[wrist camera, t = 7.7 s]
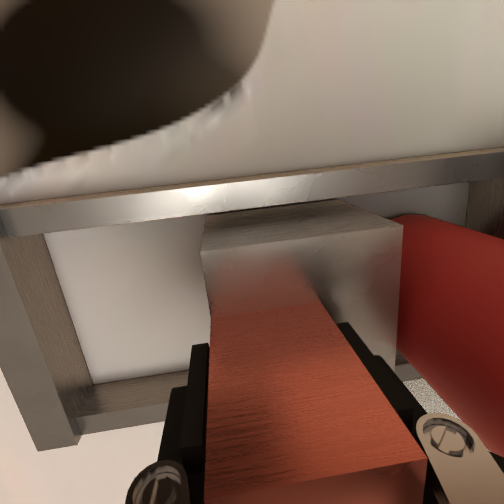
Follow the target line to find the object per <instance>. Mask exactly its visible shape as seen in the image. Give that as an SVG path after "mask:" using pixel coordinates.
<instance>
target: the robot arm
mask: <svg viewBox="0 0 504 504" xmlns="http://www.w3.org/2000/svg"><path fill="white" fill-rule="evenodd" d="M336 325H337V327H338V328H339V330H340V331H341V333H342V334H343V335H344V337H345V338H346V340H347V341H348V343H349V344H350V346H351V347H352V349H353V350H354V351H355V353H356V354H357V356H358V357H359V359H360V360H361V362H362V363H363V365H364V366H365V368H366V369H367V370H368V372H369V373H370V375H371V376H372V378H373V379H374V381H375V382H376V384H377V385H378V387H379V388H380V389H381V391H382V392H383V394H384V395H385V397H386V398H387V400H388V401H389V403H390V404H391V406H392V407H393V408H394V410H395V411H396V413H397V414H398V416H399V417H400V419H401V420H402V422H403V423H404V424H405V426H406V427H407V429H408V430H409V432H410V433H411V435H412V436H413V438H414V439H415V441H416V442H417V443H418V445H419V446H420V448H421V449H422V451H423V452H424V454H425V455H426V457H427V458H428V460H427V469H426V477H425V486H424V495H423V503H422V504H504V457H502V456H499V455H497V454H494V453H492V452H490V451H488V450H487V448H486V447H485V445H484V444H483V442H482V441H481V440H480V438H479V437H478V435H477V434H476V433H475V432H474V431H473V430H472V428H470V427H469V426H468V425H466V424H465V423H464V422H462V421H460V420H458V419H456V418H454V417H452V416H449V415H446V414H440V413H430V414H427V413H426V411H425V410H424V409H423V408H422V406H421V405H420V404H419V403H418V401H417V400H416V399H415V398H414V396H413V395H412V394H411V393H410V391H409V390H408V389H407V388H406V386H405V385H404V384H403V383H402V381H401V380H400V379H399V378H398V376H397V375H396V374H395V372H394V371H393V370H392V369H391V367H390V366H389V365H388V364H387V362H386V361H385V360H384V359H383V358H382V357H381V356H379V355H373V354H372V352H371V351H370V350H369V348H368V347H367V346H366V344H365V343H364V342H363V340H362V339H361V338H360V337H359V335H358V334H357V333H356V331H355V330H354V329H353V327H352V326H351V325H350V324H349V323H348V322H343V323H336ZM209 357H210V347H209V345H208V343H204V344H197V345H192V351H191V358H190V366H189V374H188V382H187V386H180V387H174V388H172V390H171V393H170V398H169V404H168V409H167V414H166V419H165V424H164V429H163V435H162V440H161V445H160V450H159V455H158V460H157V462H155V463H153V464H151V465H149V466H147V467H146V468H145V469H144V470H142V471H141V472H140V473H139V474H138V475H137V477H136V478H135V479H134V480H133V482H132V484H131V486H130V487H129V489H128V492H127V496H126V501H125V504H205V503H204V485H205V459H206V434H207V408H208V383H209Z"/></svg>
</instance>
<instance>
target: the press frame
mask: <svg viewBox="0 0 504 504" xmlns="http://www.w3.org/2000/svg"><path fill="white" fill-rule="evenodd" d="M470 181H471V184H470V192H469V200H468V207H467V215H466V223H465V228H468V229H471V230H475V231H478V232H481V233H484V234H488V235H491V236H494V237H497V238H501V239H504V147H499V148H490V149H482V150H473V151H464V152H455V153H447V154H438V155H429V156H420V157H412V158H403V159H394V160H385V161H377V162H368V163H359V164H350V165H342V166H333V167H324V168H315V169H307V170H298V171H289V172H280V173H272V174H263V175H254V176H245V177H237V178H228V179H219V180H210V181H202V182H193V183H184V184H175V185H167V186H158V187H149V188H140V189H132V190H123V191H114V192H105V193H97V194H88V195H79V196H70V197H62V198H53V199H44V200H35V201H27V202H18V203H9V204H0V368H1V370H2V372H3V375H4V377H5V379H6V381H7V384H8V386H9V388H10V390H11V393H12V395H13V397H14V399H15V402H16V404H17V406H18V408H19V410H20V413H21V415H22V417H23V419H24V422H25V424H26V426H27V428H28V431H29V433H30V435H31V437H32V440H33V442H34V444H35V446H36V449H37V451H44V450H50V449H56V448H62V447H68V446H73V445H78V442H79V440H80V438H81V436H82V435H84V434H90V433H96V432H102V431H108V430H114V429H120V428H126V427H132V426H138V425H144V424H150V423H156V422H162V421H165V419H166V414H167V409H168V404H169V398H170V393H171V390H172V388H174V387H180V386H187V382H188V374H189V370H187V371H181V372H175V373H168V374H162V375H155V376H149V377H143V378H136V379H130V380H123V381H117V382H111V383H104V384H98V385H93V383H92V380H91V377H90V374H89V371H88V368H87V365H86V362H85V359H84V356H83V353H82V350H81V347H80V344H79V341H78V338H77V335H76V332H75V329H74V326H73V323H72V320H71V317H70V315H69V312H68V309H67V306H66V303H65V300H64V297H63V294H62V291H61V288H60V285H59V282H58V279H57V276H56V273H55V270H54V267H53V264H52V261H51V258H50V255H49V252H48V249H47V246H46V243H45V240H44V237H43V234H42V233H51V232H59V231H67V230H75V229H83V228H92V227H100V226H108V225H116V224H125V223H133V222H141V221H149V220H157V219H166V218H174V217H182V216H190V215H199V214H207V213H215V212H223V211H231V210H240V209H248V208H256V207H264V206H273V205H281V204H289V203H297V202H305V201H314V200H322V199H330V198H338V197H347V196H355V195H363V194H371V193H379V192H388V191H396V190H404V189H412V188H421V187H429V186H437V185H445V184H453V183H462V182H470ZM395 374H396V375H397V376H398V378H399V379H400V380H401V381H408V380H414V379H420V378H423V377H422V376H421V375H420V374H419V373H418V372H417V371H416V369H415V368H414V367H413V366H412V365H411V364H410V363H409V362H408V361H407V360H406V358H405V357H404V356H403V355H402V354H401V353H400V352H399V351H398V350H397V348H396V357H395Z"/></svg>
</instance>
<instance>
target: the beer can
mask: <svg viewBox="0 0 504 504" xmlns="http://www.w3.org/2000/svg"><path fill="white" fill-rule="evenodd" d="M391 221H394V222H396V223H399V224H401V225H403V238H402V255H401V272H400V289H399V306H398V323H397V340H396V348H397V350H398V351H399V352H400V353H401V354H402V355H403V356H404V357H405V358H406V360H407V361H408V362H409V363H410V364H411V365H412V366H413V367H414V368H415V369H416V371H417V372H418V373H419V374H420V375H421V376H422V377H423V378H424V379H425V380H426V382H427V383H428V384H429V385H430V386H431V387H432V388H433V389H434V390H435V391H436V393H437V394H438V395H439V396H440V397H441V398H442V399H443V400H444V401H445V403H446V404H447V405H448V406H449V407H450V408H451V409H452V410H453V411H454V412H455V414H456V415H457V416H458V417H459V418H460V419H461V420H462V421H463V422H464V423H465V424H466V425H468V426H469V427H470V428H472V430H473V431H474V432H475V433H476V434H477V435H478V437H479V438H480V440H481V441H482V442H483V444H484V445H485V447H486V448H487V449H488V450H490V451H491V452H492V453H494V454H497V455H499V456H502V457H504V239H501V238H497V237H494V236H491V235H488V234H484V233H481V232H478V231H475V230H471V229H468V228H465V227H462V226H458V225H455V224H452V223H449V222H445V221H442V220H439V219H436V218H432V217H429V216H426V215H403V216H400V217H397V218H394V219H391Z"/></svg>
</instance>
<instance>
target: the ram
mask: <svg viewBox="0 0 504 504" xmlns="http://www.w3.org/2000/svg"><path fill="white" fill-rule="evenodd" d="M402 238H403V225H401V224H399V223H396V222H394V221H391V220H389V219H386V218H384V217H381V216H379V215H376V214H374V213H371V212H368V211H366V210H363V209H361V208H358V207H356V206H353V205H351V204H348V203H346V202H343V201H341V200H330V201H322V202H314V203H306V204H297V205H289V206H281V207H273V208H265V209H257V210H248V211H240V212H232V213H224V214H216V215H207V216H206V221H205V226H204V232H203V238H202V243H201V249H200V254H201V260H202V267H203V273H204V279H205V285H206V291H207V297H208V303H209V309H210V315H211V332H210V357H209V383H208V408H207V434H206V459H205V485H204V503H205V504H422V503H423V495H424V486H425V477H426V469H427V460H428V458H427V457H426V455H425V454H424V452H423V451H422V449H421V448H420V446H419V445H418V443H417V442H416V441H415V439H414V438H413V436H412V435H411V433H410V432H409V430H408V429H407V427H406V426H405V424H404V423H403V422H402V420H401V419H400V417H399V416H398V414H397V413H396V411H395V410H394V408H393V407H392V406H391V404H390V403H389V401H388V400H387V398H386V397H385V395H384V394H383V392H382V391H381V389H380V388H379V387H378V385H377V384H376V382H375V381H374V379H373V378H372V376H371V375H370V373H369V372H368V370H367V369H366V368H365V366H364V365H363V363H362V362H361V360H360V359H359V357H358V356H357V354H356V353H355V351H354V350H353V349H352V347H351V346H350V344H349V343H348V341H347V340H346V338H345V337H344V335H343V334H342V333H341V331H340V330H339V328H338V327H337V325H336V323H343V322H348V323H349V324H350V325H351V326H352V327H353V329H354V330H355V331H356V333H357V334H358V335H359V337H360V338H361V339H362V340H363V342H364V343H365V344H366V346H367V347H368V348H369V350H370V351H371V352H372V354H373V355H379V356H381V357H382V358H383V359H384V360H385V361H386V362H387V364H388V365H389V366H390V367H391V369H392V370H393V371H394V372H395V357H396V340H397V323H398V306H399V289H400V272H401V255H402Z"/></svg>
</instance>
